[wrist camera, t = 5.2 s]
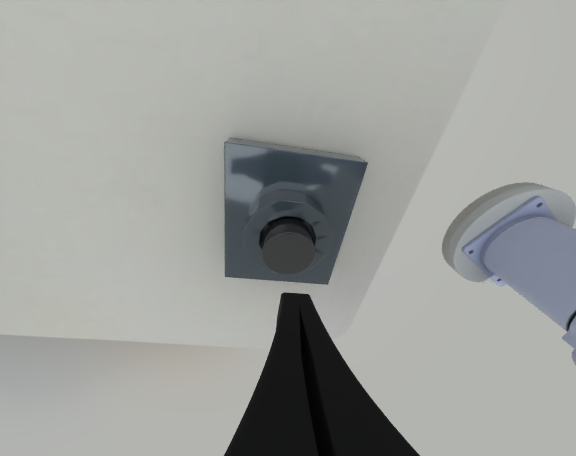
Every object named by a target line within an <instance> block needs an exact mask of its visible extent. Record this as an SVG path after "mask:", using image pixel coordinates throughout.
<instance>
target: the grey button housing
mask: <svg viewBox="0 0 576 456" xmlns="http://www.w3.org/2000/svg"><path fill="white" fill-rule="evenodd" d="M367 164H368V163H367V162H366V161H364V160H363V159H361V158H360V157H358V156H351V155H344V154H338V153H331V152H324V151H317V150H311V149H304V148H297V147H290V146H284V145H277V144H270V143H263V142H256V141H250V140H243V139H236V138H229V139H228V140H227V141H226V142H225V277H233V278H247V279H260V280H273V281H287V282H300V283H313V284H327V285H328V283H329V280H330V277H331V273H332V270H333V267H334V264H335V261H336V258H337V255H338V252H339V249H340V246H341V243H342V240H343V237H344V234H345V231H346V228H347V225H348V222H349V219H350V216H351V213H352V210H353V207H354V204H355V201H356V198H357V195H358V192H359V188H360V185H361V182H362V179H363V176H364V173H365V170H366V167H367ZM282 218H295V219H298V220H300V221H302V222H303V223H305V224H306V225H307V227H308V228H309V230H310V232H311V236H312V240H313V244H314V248H315V257H314V260H313V262H312V264H311V265H310V266H309V267H308V268H307V269H305V270H304V271H302V272H300V273H297V274H292V275H284V274H279V273H276V272H274V271H272V270H271V269H269V268H268V267H267V266H266V264H265V263H264V261H263V258H262V249H263V239H264V233H265V231H266V229H267V227H268V226H269V225H270V224H271V223H273V222H274V221H276V220H278V219H282Z"/></svg>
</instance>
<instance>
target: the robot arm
mask: <svg viewBox="0 0 576 456" xmlns="http://www.w3.org/2000/svg"><path fill="white" fill-rule="evenodd" d="M462 251H463V252H464V253H465V254H466V255H467V256H468V257H469V258H470V259H471V260H472V261H473V262H474V263H475V264H476V265H477V266H478V267H480V268H481V269H482V270H483V271H484V272H485V273H486V274H487V275H488V276H489V277H490V278H491V279H492V280H493V281H494V282H495V283H496V284H497V285H499V286H504V285H506V284H508V285H509V286H510V287H512V288H513V289H514V290H515V291H517V292H518V293H519V294H520V295H522V296H523V297H524V298H526V299H527V300H528V301H529V302H531V303H532V304H533V305H535V306H536V307H537V308H539V310H541V311H542V312H543V313H545V314H546V315H547V316H548V317H550V318H551V319H552V320H553V321H555V322H556V323H557V324H558V325H560V326H561V327H562V328H563V329H565V330H566V331H567V333H566V334H565V335H564V336H563V337H562V339H564V340H565V341H566V342H567V343H568V344H570V345H571V346H572V347H573V348H574V350H573V352H572V358H573V361H574V363H575V365H576V229H574V228H572V227H570V226H567V225H565V224H563V223H560V222H558V221H557V219H556V218H555V216H554V215H553V213H552V212H551V210H550V209H549V207H548V206H547V204H546V203H545V201H544V200H543V198H542V197H539V196H534V197H532V198H531V199H529V200H528V201H526V202H525V203H524V204H522V205H521V206H519V207H518V208H517V209H515V210H514V211H512V212H511V213H509V214H508V215H507V216H505V217H504V218H502V219H501V220H500V221H498V222H497V223H495V224H494V225H493V226H491V227H490V228H488V229H487V230H485V231H484V232H483V233H481V234H480V235H478V236H477V237H476V238H474V239H473V240H471V241H470V242H469V243H467V244H466V245H464V246H463V247H462ZM224 456H420V455H419V454H418V453H417V452H416V451H415V450H414V449H413V447H411V445H410V444H409V443H408V442H407V441H406V440H405V439H404V437H403V436H402V435H401V434H400V433H399V432H398V430H397V429H396V428H395V427H394V426H393V425H392V424H391V422H390V421H389V420H388V418H387V417H386V416H385V415H384V414H383V412H382V411H381V410H380V409H379V407H378V406H377V405H376V404H375V402H374V401H373V400H372V399H371V397H370V396H369V395H368V393H367V392H366V391H365V389H364V388H363V387H362V385H361V384H360V383H359V381H358V380H357V379H356V377H355V375H354V374H353V373H352V371H351V370H350V368H349V367H348V365H347V364H346V362H345V361H344V359H343V358H342V356H341V354H340V353H339V351H338V350H337V348H336V346H335V344H334V343H333V341H332V339H331V338H330V336H329V334H328V332H327V330H326V328H325V327H324V325H323V323H322V321H321V319H320V317H319V315H318V313H317V311H316V309H315V306H314V304H313V302H312V300H311V297H310V296H309V294H298V293H282V294H281V299H280V305H279V310H278V316H277V327H276V333H275V336H274V339H273V342H272V346H271V349H270V352H269V355H268V358H267V360H266V363H265V366H264V368H263V371H262V374H261V376H260V379H259V381H258V383H257V386H256V388H255V391H254V393H253V396H252V398H251V400H250V402H249V405H248V407H247V409H246V411H245V413H244V416H243V418H242V420H241V422H240V424H239V426H238V428H237V431H236V433H235V435H234V437H233V439H232V441H231V443H230V445H229V447H228V449H227V451H226V453H225V455H224Z"/></svg>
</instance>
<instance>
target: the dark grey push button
mask: <svg viewBox="0 0 576 456" xmlns="http://www.w3.org/2000/svg"><path fill="white" fill-rule="evenodd" d="M314 257H315V248H314V244H313V240H312V236H311V232H310V230H309V228H308V227H307V225H306V224H305V223H303V222H302V221H300V220H298V219H295V218H282V219H278V220H276V221H274V222H273V223H271V224H270V225H269V226H268V227H267V229H266V231H265V233H264V239H263V249H262V258H263V261H264V263H265V264H266V266H267V267H268V268H269V269H271V270H272V271H274V272H276V273H279V274H284V275H292V274H297V273H300V272H302V271H304V270H305V269H307V268H308V267H309V266H310V265H311V264H312V262H313V260H314Z"/></svg>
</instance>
